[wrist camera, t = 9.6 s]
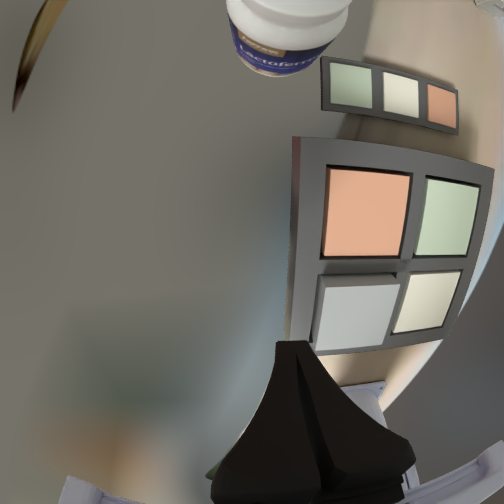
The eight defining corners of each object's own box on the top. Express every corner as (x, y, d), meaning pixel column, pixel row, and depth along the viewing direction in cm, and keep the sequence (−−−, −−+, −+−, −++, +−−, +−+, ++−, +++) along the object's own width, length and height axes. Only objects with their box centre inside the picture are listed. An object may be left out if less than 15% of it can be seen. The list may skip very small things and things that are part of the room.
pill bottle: (235, 79, 16) (217, 27, 7) (233, 11, 14) (217, -70, 5) (319, 80, 16) (379, 37, 7) (314, 13, 14) (357, -60, 4)
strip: (453, 90, 15) (459, 90, 14) (454, 134, 17) (459, 135, 16) (320, 58, 15) (322, 55, 14) (320, 110, 17) (323, 109, 16)
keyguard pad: (432, 316, 24) (448, 337, 21) (283, 329, 24) (287, 357, 21) (467, 161, 17) (494, 168, 14) (292, 136, 18) (300, 136, 14)
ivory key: (427, 307, 23) (441, 325, 20) (381, 312, 23) (393, 332, 20) (442, 257, 20) (460, 272, 18) (394, 257, 20) (411, 275, 18)
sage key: (446, 240, 20) (465, 254, 17) (398, 239, 20) (415, 254, 17) (456, 179, 18) (478, 188, 15) (407, 171, 18) (428, 179, 15)
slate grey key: (369, 321, 22) (381, 344, 19) (309, 325, 22) (315, 350, 19) (383, 264, 19) (400, 284, 17) (316, 265, 19) (325, 287, 17)
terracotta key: (380, 239, 20) (397, 255, 17) (314, 238, 20) (324, 255, 17) (389, 169, 18) (409, 176, 15) (319, 164, 18) (330, 169, 15)
